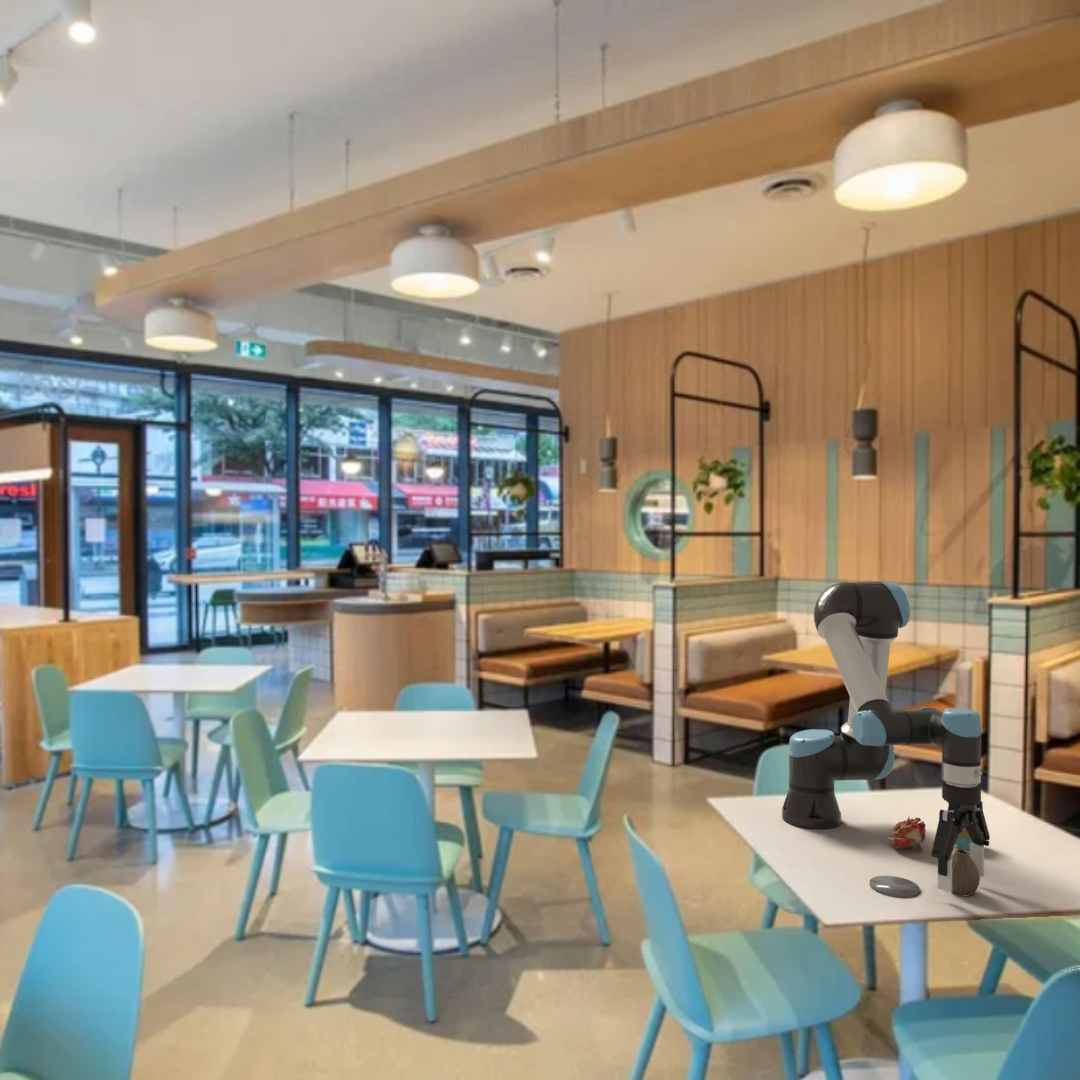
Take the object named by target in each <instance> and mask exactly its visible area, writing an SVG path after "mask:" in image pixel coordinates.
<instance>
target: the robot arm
mask: <svg viewBox="0 0 1080 1080" xmlns="http://www.w3.org/2000/svg"><path fill="white" fill-rule="evenodd" d="M814 605H815V606H814V609H813V620H814V621H813V622H814V626H815V628H816V629H815V630H816V632H817V633H818V636H819V637H820V638H822V639H823V640H825V641H826V644H827V646H828V648H829V651H830V653H831V655H832V658H833V661H834V662H835V665H836V667H837V669H838V673H839V674H840V677H841V680H842V682H843V684H844V686H845V688H846V691H847V692H848V695H849V705H848V715H847V722H845V723H844V724H842V726H841V727H840V735H835V733H834V732H833V731H831V730H829V729H818V728H817V729H815V728H812V729H804V730H800V731H798V732H795V733H794V734H791V736H790V738H789V743H788V745H789V746H788V751H787V753H788V789H787V790H788V791H787V793H786V796H785V800H784V803H783V805H782V808H781V817H782V820H783V821H784V822H786V823H788V824H790V825H794V826H796V827H801V828H805V829H822V830H823V829H832V828H836V827H839V826H840V825H841V824H842V812H841V811H840V806H839V804H838V800H837V797H836V793H835V782H836V781H837V782H838V781H873V780H882V779H885V778H886V777H888V776H889V775H890V773H891V772H892V770H893V767H894V764H895V759H896V758H895V751H894V749H895V747H894V746H920V745H921V746H925V745H931V746H936V747H939V748H941V779H942V780H943V781H942V782H941V797H942V799H943V800H944V801H945V802H946V803H947V804H948V805H947V810H945V809H939V811H938V812H939V814H938V816H939V817H938V823H937V827H936V832H935V836H934V840H933V845H932V847H931V853H930V856H931V857H933V858H935V859H937V889H939V890H942V891H945V892H948V893H953V892H952V860H950V857H951V856H952V855H953V854H952V853H953V851H954V848H955V846H956V845H955V843H956V840H957V837H958V835H959V833H961V832H962V831H963V828H966V830H967V832H968V834H969V836H970V838H971V840H972V842H974V843H970V850H969V856H970V857H971V859H972V860H973V861H974V863H975V864H976V866H977V868H978V871H979V875H980V877H981V878H983V877H984V876H985V847H989V846H990V837H991V836H990V833H989V828H988V824H987V820H986V817H985V813H984V808H983V801H982V787H981V785H980V784H981V782H982V781H981V780H982V779H981V778H982V777H981V776H983V771H982V769H981V768H982V766H981V764H982V734H983V729H982V723H981V721H982V720H981V715H980V713H979V712H978V711H976V710H974V709H973V710H972V709H968V708H963V707H962V708H961V707H949V708H945V709H944V710H943V711H942V710H940V709H937V708H934V707H928V706H921V707H919V708H917V709H916V710H894V709H893V707H892V706H891V703H890V701H889V699H888V697H887V695H886V691H887V681H888V671H889V660H890V650H891V642H893V641H894V640H896V639H897V638H898V635H899V629H901V628H905V627H906V626H907V625H908V623H909V621H910V617H911V615H910V614H911V609H910V608H911V607H910V602H909V600H908V597H907V595H906V592H905V590H904V589H903V588H902V587H901V586H900V585H899V584H897V583H896V582H886V581H885V582H884V581H868V582H867V581H861V582H860V581H859V582H858V581H856V582H855V581H854V582H848V581H847V582H846V581H842V582H838V583H834V584H832V585H830V586H828V587H827V588H825V589H824V590H823V591H822V592H821V593H820V595H819V597H818V598H817V599H816V602H815V604H814ZM982 832H983V833H984V834H983V833H982Z"/></svg>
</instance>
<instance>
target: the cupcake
mask: <svg viewBox="0 0 1080 1080" xmlns="http://www.w3.org/2000/svg"><path fill="white" fill-rule="evenodd" d="M982 833H983V832H982ZM983 834H984V833H983ZM970 843H974V842H972V840H971V838H970V836H969V834H968V832H967V830H966V828H963V831H962V832H961V833H959V835H958V837H957V840H956V843H955V846H956V847H957V848H959V849H961V850H965V851H970Z"/></svg>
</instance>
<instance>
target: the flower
mask: <svg viewBox="0 0 1080 1080" xmlns="http://www.w3.org/2000/svg"><path fill="white" fill-rule="evenodd" d="M890 829H891V830H892V831H893V833H892V834H889V835H888V836H887V837H886V839H887V840H888V841H889V842H891V841H893V842H892V845H893V847H894V848H895V849H909V848H910V847H911V848H912V847H915V848H917V850H918V852H921V851H923V850H924V849H923V848H922V847H921V845H920V844H921V843H922V842H924V841H925V840H926V831H927V830H926V824H925V821H923V820H922V819H921V818H920V817H915V818H911V819H910V816H908V817H907V819H906V820H903V821H899V822H898V823H895V826H893V827H891V828H890Z"/></svg>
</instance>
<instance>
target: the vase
mask: <svg viewBox="0 0 1080 1080" xmlns="http://www.w3.org/2000/svg"><path fill="white" fill-rule="evenodd" d="M950 860H952V892H951V893H953V894H955V895H958V896H964V897H968V896H971V895H973V894H975V893H976V892H977V890H978V888H979V886H980V879H981V878H980V875H979V871H978V868H977V866H976V864H975V863H974V861H973V860H972V859H971V857H970V852H969V851H968V850H965V849H961V848H959V849H955V851H954V853H953V854H951V857H950Z"/></svg>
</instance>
